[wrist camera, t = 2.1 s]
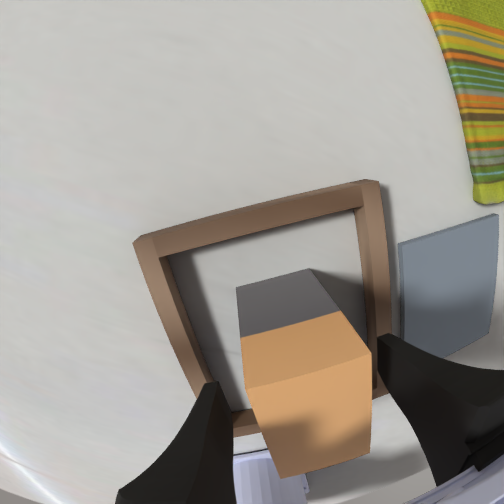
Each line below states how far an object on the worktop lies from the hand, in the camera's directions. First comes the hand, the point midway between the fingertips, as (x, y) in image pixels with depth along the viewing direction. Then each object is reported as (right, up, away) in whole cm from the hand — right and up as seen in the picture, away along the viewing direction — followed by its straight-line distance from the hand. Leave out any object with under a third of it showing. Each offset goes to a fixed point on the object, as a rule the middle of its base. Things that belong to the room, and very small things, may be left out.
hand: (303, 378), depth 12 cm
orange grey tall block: (0, +1, +5) cm, 5 cm away
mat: (+12, +2, +5) cm, 13 cm away
